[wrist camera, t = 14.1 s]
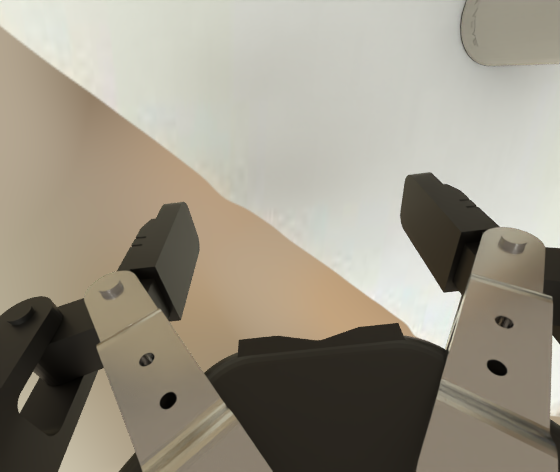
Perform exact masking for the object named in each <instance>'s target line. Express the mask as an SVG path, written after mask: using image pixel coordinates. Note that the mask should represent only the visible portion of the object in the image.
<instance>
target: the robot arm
mask: <svg viewBox="0 0 560 472" xmlns="http://www.w3.org/2000/svg"><path fill="white" fill-rule="evenodd" d="M461 36H462V41H463V45H464V47H465V49H466V51H467V53H468V55H469V56H470V57H471V58H472V59H473V60H474V61H476V62H477V63H479V64H482V65H486V66H508V65H543V64H560V0H467V2H466V5H465V8H464V11H463V15H462V22H461ZM400 218H401V224H402V227H403V229H404V231H405V232H406V234H407V236H408V237H409V239H410V240H411V242H412V243H413V245H414V247H415V248H416V250H417V251H418V253H419V254H420V256H421V258H422V259H423V261H424V262H425V264H426V265H427V267H428V269H429V270H430V272H431V273H432V275H433V276H434V278H435V280H436V281H437V283H438V284H439V286H440V288H441V289H442V291H443V292H453V291H459V292H460V293H461V295H462V296H461V299H460V302H459V305H458V308H457V311H456V315H455V318H454V321H453V325H452V328H451V331H450V334H449V338H448V341H447V344H446V347H445V349H443V348H442V347H440V346H437V345H435V344H433V343H430V342H428V341H425V340H422V339H419V338H414V337H409V336H403V333H402V332H401V329H400V326H399V324H398V323H393V324H384V325H375V326H365V327H358V328H355V329H352V330H349V331H346V332H343V333H341V334H338V335H335V336H332V337H329V338H326V339H323V340H318V341H317V340H308V339H300V338H291V337H283V336H271V337H261V338H252V339H243V340H239V346H238V353H235V354H233V355H231V356H228V357H226V358H224V359H223V360H221V361H219V362H218V363H216V364H215V365H213V366H212V367H211V368H209V369H208V370H207V371H206V372H205V373H203V371H202V370H201V368H200V367H199V365H198V364H197V362H196V361H195V359H194V358H193V356H192V355H191V353H190V352H189V350H188V349H187V347H186V346H185V344H184V343H183V342H182V340H181V339H180V337H179V336H178V334H177V333H176V331H175V330H174V328H173V327H172V325H171V324H170V322H169V321H178V320H181V317H182V314H183V310H184V306H185V303H186V299H187V295H188V291H189V288H190V284H191V280H192V276H193V273H194V269H195V265H196V261H197V258H198V254H199V239H198V235H197V232H196V229H195V226H194V223H193V220H192V217H191V215H190V211H189V208H188V206H187V204H186V203H185V202H180V203H171V204H164V205H163V206H162V208H161V209H160V211H159V213H158V215H157V217H156V219H151V220H150V221H149V222H148V223H146V224H145V225H144V226H143V227H142V228H141V229H140V231H139V233H138V235H137V236H136V239H135V240H134V242H133V243H132V247H130V249H129V251H128V252H127V254H126V256H125V258H124V259H123V261H122V263H121V265H120V266H119V268H118V270H117V271H116V272H113V273H110V274H107V275H105V276H103V277H101V278H100V279H98V280H97V281H95V282H94V283H93V284H92V285H91V286H90V287H89V288H88V289H87V291H86V293H85V296H84V298H83V299H80V300H77V301H74V302H71V303H68V304H65V305H62V306H59V307H56V305H55V304H54V303H53V302H52V301H51V299H49V298H48V297H42V296H40V297H34V298H30V299H27V300H25V301H22V302H20V303H18V304H16V305H15V306H13V307H11V308H10V309H8V310H7V311H6V312H4V313H3V314H2V315H1V316H0V472H58V470H59V467H60V465H61V462H62V460H63V457H64V455H65V452H66V450H67V447H68V445H69V442H70V440H71V437H72V435H73V432H74V430H75V427H76V425H77V422H78V420H79V417H80V415H81V412H82V410H83V407H84V405H85V402H86V400H87V397H88V395H89V392H90V390H91V387H92V385H93V382H94V380H95V377H96V374H97V372H98V370H100V369H102V368H104V369H105V372H106V375H107V377H108V380H109V382H110V385H111V388H112V391H113V393H114V396H115V399H116V401H117V404H118V406H119V409H120V412H121V415H122V417H123V420H124V422H125V425H126V428H127V430H128V433H129V436H130V439H131V441H132V444H133V447H134V449H135V453H134V454H133V456H132V457H131V458H130V459H129V460H128V461H127V463H126V464H125V465H124V466H123V467H122V468H121V470H120V471H119V472H560V426H559V425H558V424H556V423H555V422H554V421H552V420H550V399H551V361H552V335H553V336H554V338H555V339H556V340H557V341H558V342H559V344H560V248H548V247H545V246H544V244H543V243H542V241H541V240H539V239H538V238H537V237H535V236H534V235H532V234H530V233H528V232H525V231H522V230H519V229H515V228H508V227H499V226H498V225H497V224H496V223H495V222H494V221H493V220H492V219H491V218H490V217H488V216H487V215H486V214H485V213H484V212H483V211H482V210H481V209H480V208H479V207H476V205H475V204H474V203H473V202H472V201H471V200H469V198H468V197H467V196H466V195H465V194H464V193H462V192H461V191H460V190H458V189H456V188H454V187H452V186H450V185H447V184H444V185H443V184H442V183H441V182H440V181H439V180H438V179H437V178H436V177H435V176H434V175H433V174H432V173H430V172H429V173H421V174H412V175H408V176H407V177H406V179H405V184H404V191H403V198H402V205H401V213H400ZM32 372H34V373H36V374H37V375H38V376H39V377H40V378H39V380H38V382H37V383H36V385H35V387H34V389H33V390H32V392H31V394H30V396H29V398H28V400H27V401H26V403H25V405H24V407H23V409H22V410H21V412H20V414H19V412H18V408H17V404H18V398H19V395H20V393H21V391H22V390H23V388H24V386H25V384H26V383H27V381H28V379H29V377H30V376H31V374H32Z"/></svg>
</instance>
